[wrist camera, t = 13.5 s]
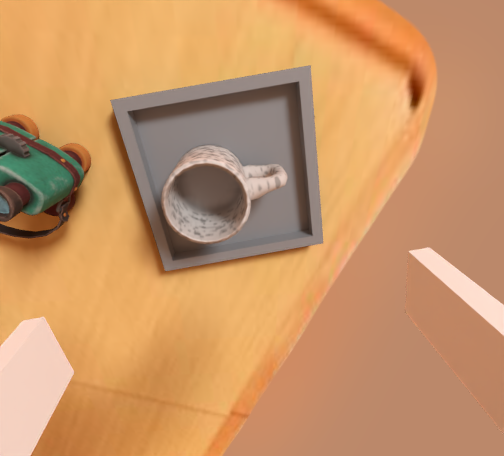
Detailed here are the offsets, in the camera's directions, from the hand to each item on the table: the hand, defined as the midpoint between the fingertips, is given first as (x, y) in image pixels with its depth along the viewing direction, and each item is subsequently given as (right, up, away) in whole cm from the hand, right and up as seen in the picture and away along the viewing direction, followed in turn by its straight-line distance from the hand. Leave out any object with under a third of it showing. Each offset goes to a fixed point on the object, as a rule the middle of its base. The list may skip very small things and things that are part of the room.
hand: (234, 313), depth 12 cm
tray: (-2, +8, +19) cm, 20 cm away
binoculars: (-19, +8, +17) cm, 27 cm away
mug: (-2, +8, +18) cm, 20 cm away
